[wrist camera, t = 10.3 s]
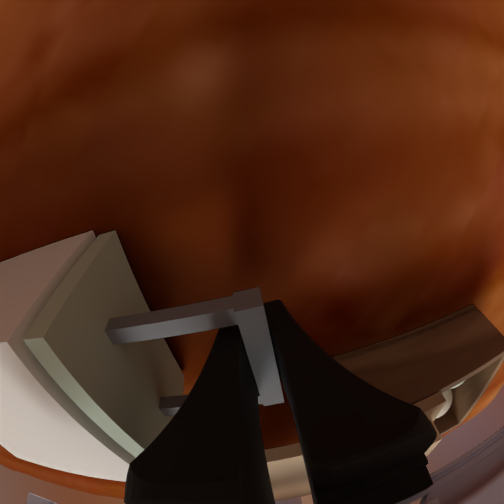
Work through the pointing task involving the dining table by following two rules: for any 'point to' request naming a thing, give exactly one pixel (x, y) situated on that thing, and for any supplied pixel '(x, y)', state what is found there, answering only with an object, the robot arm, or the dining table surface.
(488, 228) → the dining table surface
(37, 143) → the dining table surface
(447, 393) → the ivory ball
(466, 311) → the walnut box
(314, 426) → the robot arm
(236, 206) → the dining table surface
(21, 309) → the white cabinet
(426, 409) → the box lid
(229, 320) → the drawer
